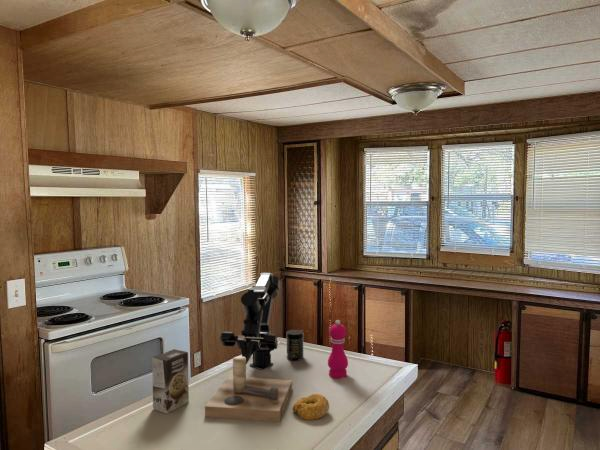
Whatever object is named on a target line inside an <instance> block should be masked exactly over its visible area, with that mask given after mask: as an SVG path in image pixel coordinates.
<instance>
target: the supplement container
mask: <svg viewBox="0 0 600 450" xmlns="http://www.w3.org/2000/svg"><path fill="white" fill-rule="evenodd" d="M285 338H286V358H287V360H290V361H293V362H294V361H295V362H296V361H300V360H302V359H303V358H304V331H303V330H300V329H289V330H287V331H286V336H285Z"/></svg>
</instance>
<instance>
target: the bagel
mask: <svg viewBox="0 0 600 450" xmlns="http://www.w3.org/2000/svg"><path fill="white" fill-rule="evenodd" d="M329 409H330V403H329V401H328V399H327V398H326V396H324V395H322V394H319V393H312V394H310V395H308V396H304V397H301V398H299V399H298V400H297V401H296V402H295V403H294V404H293V405H292V411H293V412H294V413H295V414H297V415H298V416H299V417H300V418H302V419H303V420H306V421H312V420H314V421H315V420H318V419H320V418H322V417H324V416H325V415H327V413H328V411H329Z"/></svg>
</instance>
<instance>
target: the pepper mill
mask: <svg viewBox="0 0 600 450" xmlns="http://www.w3.org/2000/svg"><path fill="white" fill-rule="evenodd" d="M334 322H335V323H334V324H332V325H331V326H330V328H329V330H328V331H329V335H330V343H331V345H332V347H331V352H330V354H329V356H328V359H327V366H328V368H329V370H328V375H329V377H330V378H333V379H343V378H346V377H347V376H348V375H347V373H348V372H347V368H348V366H349V360H348V357H347V355H346V353H345V349H344V344H345V342H346V338H345V336H346V335H347V329H346V327H345V326H344V324H341V321H340V319H337V320H335V321H334Z"/></svg>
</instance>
